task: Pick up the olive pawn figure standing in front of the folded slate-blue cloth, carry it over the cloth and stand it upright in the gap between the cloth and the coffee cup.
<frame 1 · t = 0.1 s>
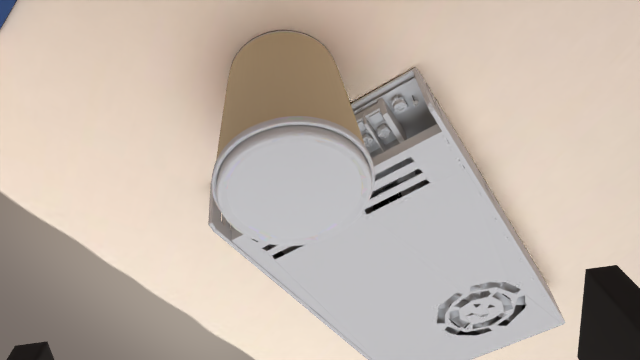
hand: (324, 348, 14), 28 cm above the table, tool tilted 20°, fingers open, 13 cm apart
coffee cup: (283, 76, 42), on the table
power supply unit: (400, 237, 55), on the table
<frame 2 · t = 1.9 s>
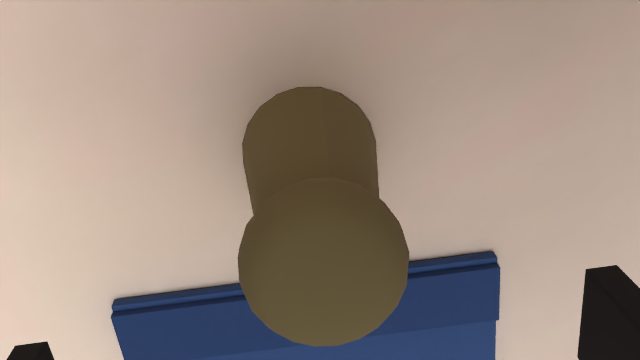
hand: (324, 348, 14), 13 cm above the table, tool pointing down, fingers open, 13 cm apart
olive pawn figure: (309, 150, 26), on the table
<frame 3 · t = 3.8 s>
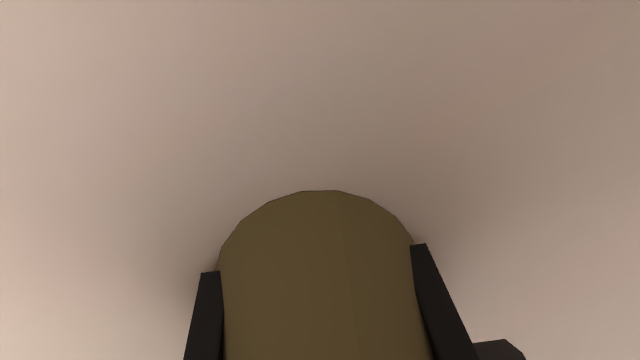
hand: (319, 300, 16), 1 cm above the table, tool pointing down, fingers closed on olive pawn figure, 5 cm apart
olive pawn figure: (318, 280, 17), on the table, touching gripper
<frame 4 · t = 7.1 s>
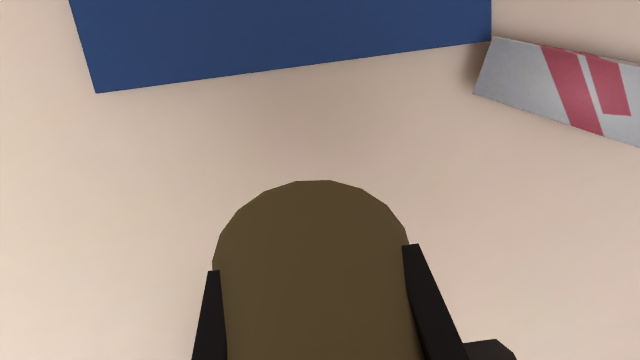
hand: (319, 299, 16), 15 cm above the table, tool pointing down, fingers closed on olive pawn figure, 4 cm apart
olive pawn figure: (312, 267, 18), point 13 cm above the table, touching gripper
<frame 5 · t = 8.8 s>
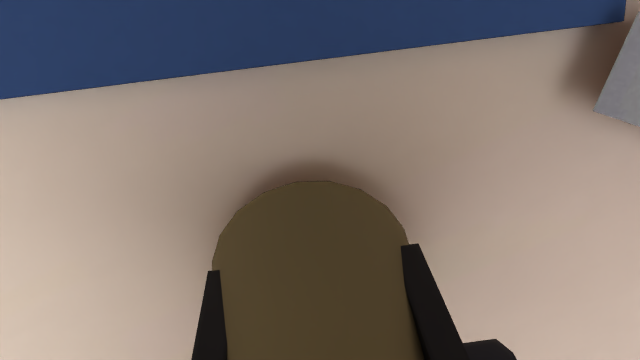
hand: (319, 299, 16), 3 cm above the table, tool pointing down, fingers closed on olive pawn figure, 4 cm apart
olive pawn figure: (312, 268, 18), point 2 cm above the table, touching gripper
when the fingers open (1 cm above the table, at t = 9.6 s): olive pawn figure stays where it is, on the table.
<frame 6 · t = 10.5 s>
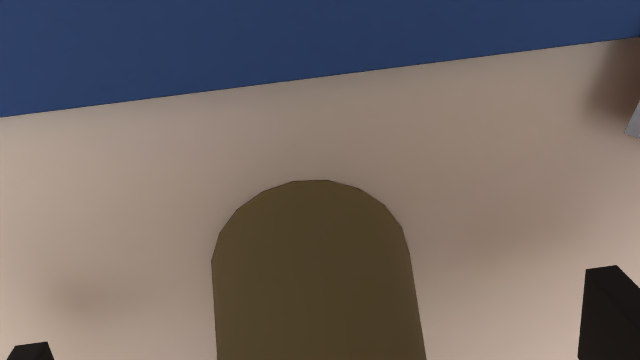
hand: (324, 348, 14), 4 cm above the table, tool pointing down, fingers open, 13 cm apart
olive pawn figure: (311, 266, 18), on the table
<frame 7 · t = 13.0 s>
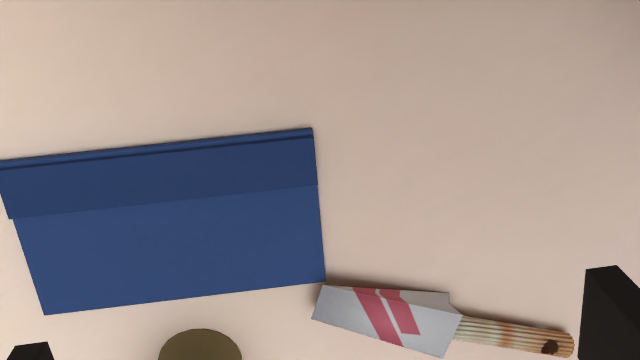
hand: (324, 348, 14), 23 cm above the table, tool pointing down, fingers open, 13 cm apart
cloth: (173, 222, 38), on the table
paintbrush: (442, 312, 43), on the table
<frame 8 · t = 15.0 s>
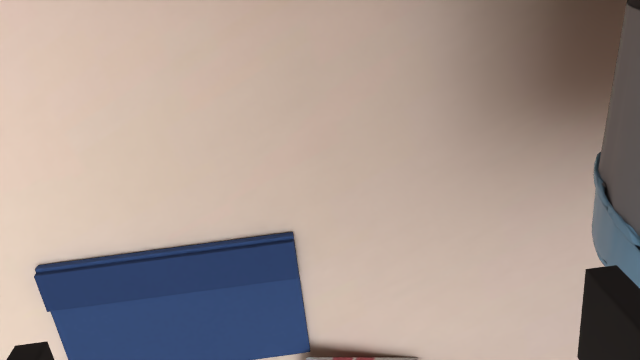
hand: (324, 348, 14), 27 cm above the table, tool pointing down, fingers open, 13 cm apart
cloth: (181, 308, 45), on the table
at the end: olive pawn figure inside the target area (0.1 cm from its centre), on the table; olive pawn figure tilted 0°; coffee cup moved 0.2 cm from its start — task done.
